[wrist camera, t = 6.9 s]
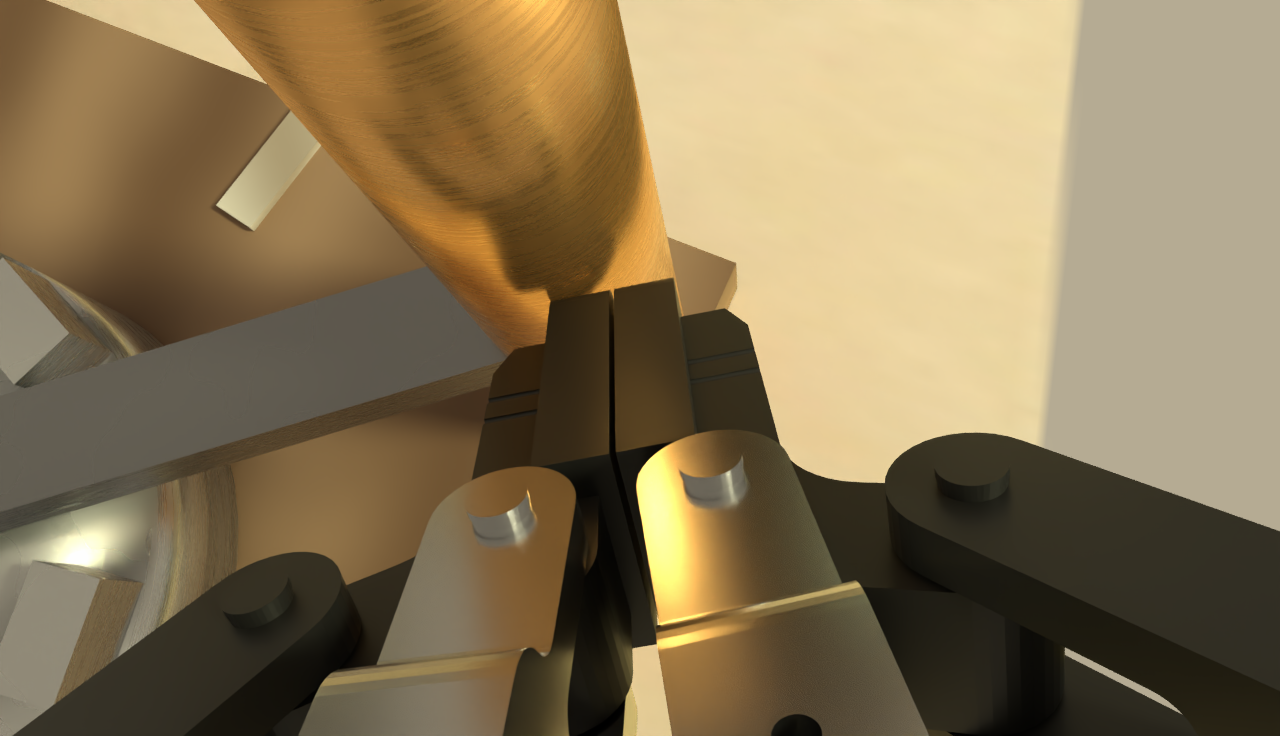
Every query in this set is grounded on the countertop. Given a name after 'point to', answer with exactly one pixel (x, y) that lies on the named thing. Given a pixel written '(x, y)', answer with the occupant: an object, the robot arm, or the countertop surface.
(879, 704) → the robot arm
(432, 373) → the wooden handle lever
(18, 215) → the base plate
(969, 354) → the countertop surface
